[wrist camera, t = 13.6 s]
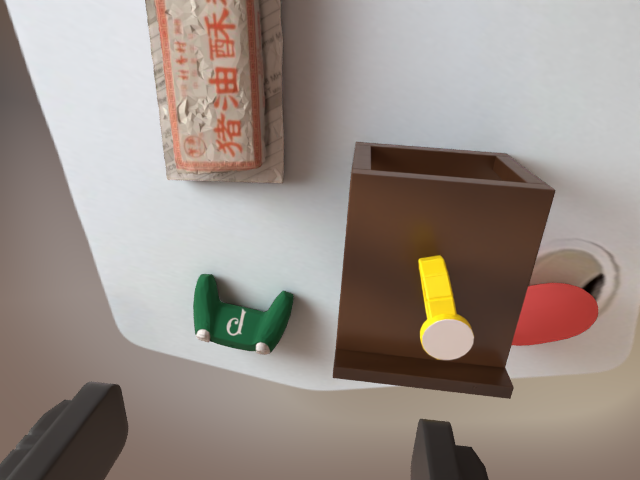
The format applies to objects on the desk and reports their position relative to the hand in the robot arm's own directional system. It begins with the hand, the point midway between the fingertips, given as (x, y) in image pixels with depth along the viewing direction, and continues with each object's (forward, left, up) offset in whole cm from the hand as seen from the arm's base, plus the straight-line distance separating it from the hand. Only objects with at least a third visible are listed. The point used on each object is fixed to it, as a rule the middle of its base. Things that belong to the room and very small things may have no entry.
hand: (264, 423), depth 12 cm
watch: (+5, +7, -18) cm, 19 cm away
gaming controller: (+14, -8, -28) cm, 32 cm away
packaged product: (-7, -10, -28) cm, 30 cm away
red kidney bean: (+11, +18, -28) cm, 35 cm away
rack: (+5, +7, -27) cm, 29 cm away
